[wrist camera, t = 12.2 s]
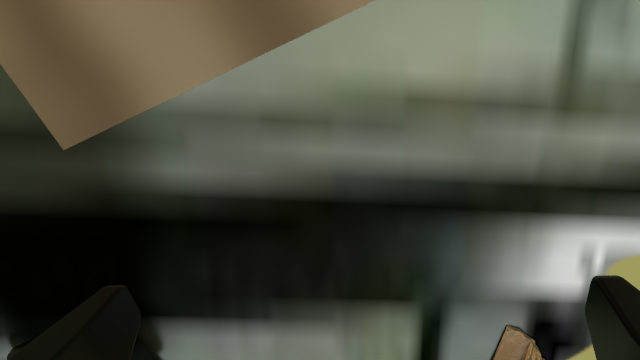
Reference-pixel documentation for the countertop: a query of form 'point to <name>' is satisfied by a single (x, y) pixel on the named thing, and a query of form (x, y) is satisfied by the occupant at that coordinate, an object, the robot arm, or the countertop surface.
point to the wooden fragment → (517, 346)
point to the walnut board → (137, 51)
